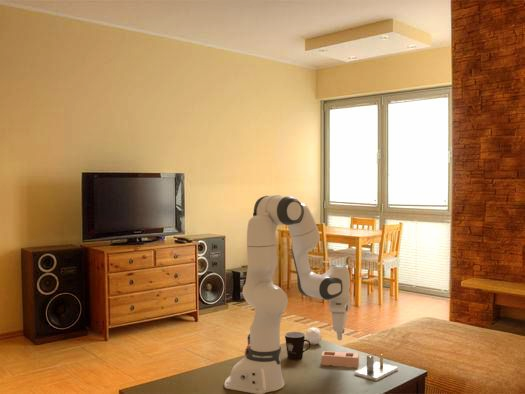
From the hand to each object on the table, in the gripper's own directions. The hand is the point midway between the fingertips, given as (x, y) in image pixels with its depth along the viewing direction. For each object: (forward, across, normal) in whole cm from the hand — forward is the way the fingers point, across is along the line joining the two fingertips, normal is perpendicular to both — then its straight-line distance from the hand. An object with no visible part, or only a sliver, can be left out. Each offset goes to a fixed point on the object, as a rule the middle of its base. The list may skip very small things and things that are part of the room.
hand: (341, 336), depth 223 cm
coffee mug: (+11, -2, -20) cm, 23 cm away
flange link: (+12, +1, -1) cm, 12 cm away
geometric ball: (+12, -24, -16) cm, 31 cm away
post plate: (+12, +8, +14) cm, 20 cm away
